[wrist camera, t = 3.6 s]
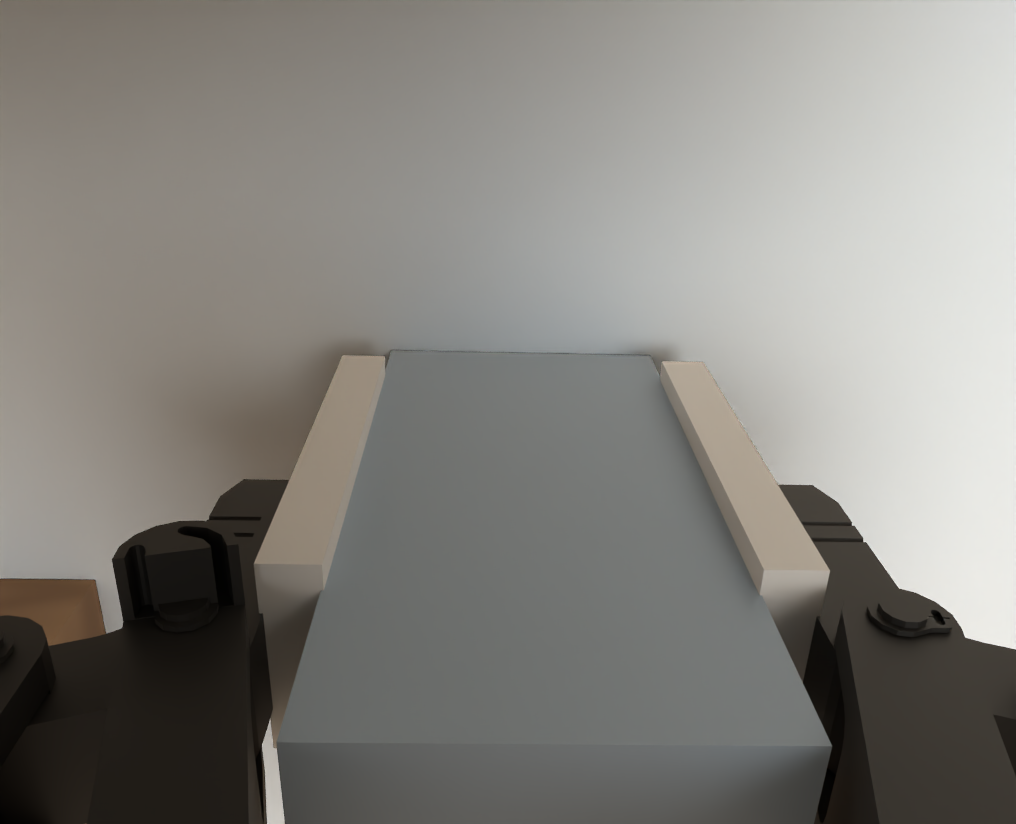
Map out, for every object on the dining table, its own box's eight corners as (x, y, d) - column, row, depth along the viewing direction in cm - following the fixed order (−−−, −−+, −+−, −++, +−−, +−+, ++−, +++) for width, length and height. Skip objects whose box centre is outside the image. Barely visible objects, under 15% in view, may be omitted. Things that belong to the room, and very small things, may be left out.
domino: (641, 447, 18) (796, 897, 9) (393, 443, 18) (292, 896, 9) (650, 355, 17) (832, 745, 8) (390, 350, 17) (276, 742, 8)
